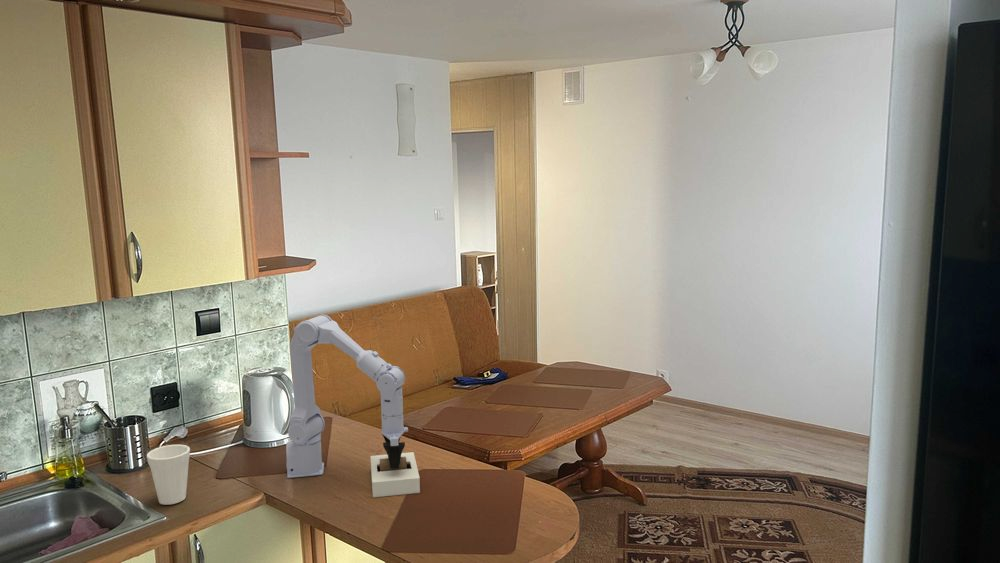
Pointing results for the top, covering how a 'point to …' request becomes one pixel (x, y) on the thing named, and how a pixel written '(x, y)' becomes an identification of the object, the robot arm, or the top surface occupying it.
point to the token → (386, 466)
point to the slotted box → (395, 477)
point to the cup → (170, 472)
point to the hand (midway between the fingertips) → (393, 462)
